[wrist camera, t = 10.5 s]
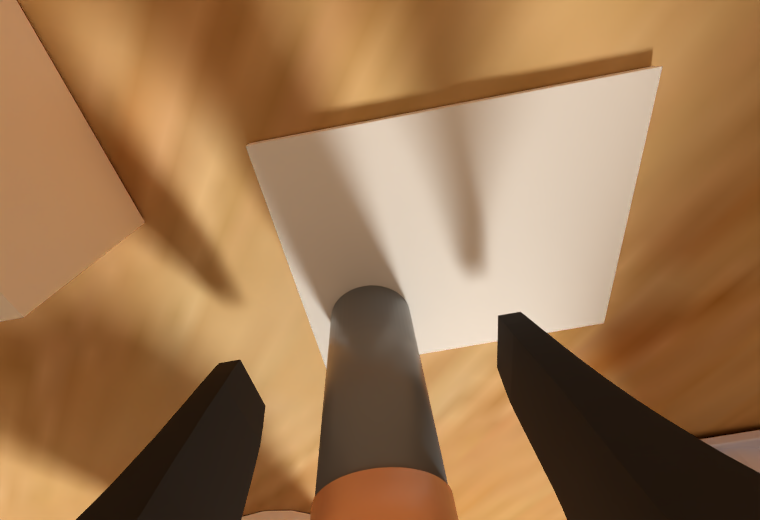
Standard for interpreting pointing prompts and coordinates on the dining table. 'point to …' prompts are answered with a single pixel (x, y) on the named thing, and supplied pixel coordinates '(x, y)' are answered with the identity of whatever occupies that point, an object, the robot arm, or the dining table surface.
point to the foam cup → (278, 515)
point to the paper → (466, 207)
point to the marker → (377, 418)
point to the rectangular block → (48, 177)
